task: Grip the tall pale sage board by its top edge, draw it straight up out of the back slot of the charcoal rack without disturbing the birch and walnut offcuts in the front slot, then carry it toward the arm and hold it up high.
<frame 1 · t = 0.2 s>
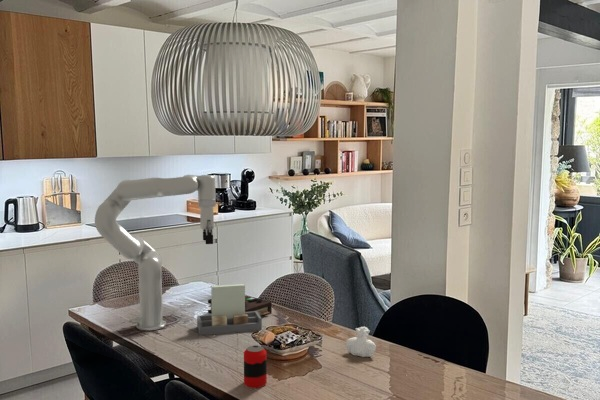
hand: (208, 242, 248), 36 cm above the table, tool pointing down, fingers open, 9 cm apart
soda can: (255, 383, 188), on the table
walnut offcut: (240, 329, 240), point 1 cm above the table, touching rack
decorative book: (239, 315, 264), on the table
rack: (228, 329, 242), on the table
birch offcut: (219, 330, 237), point 1 cm above the table, touching rack
sage board: (228, 326, 243), point 1 cm above the table, touching rack
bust: (361, 354, 215), on the table
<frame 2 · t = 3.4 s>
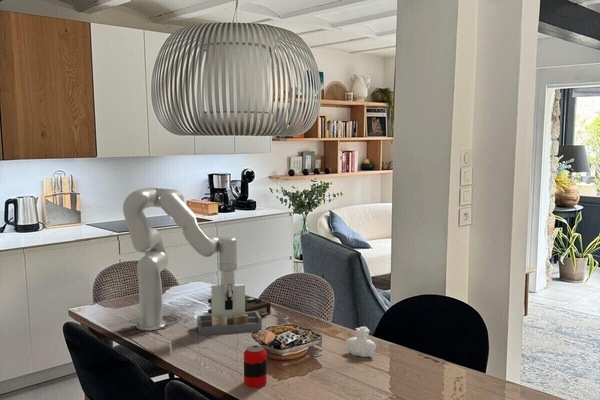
hand: (228, 308, 242), 9 cm above the table, tool pointing down, fingers closed on sage board, 2 cm apart
sage board: (228, 326, 243), point 1 cm above the table, touching gripper
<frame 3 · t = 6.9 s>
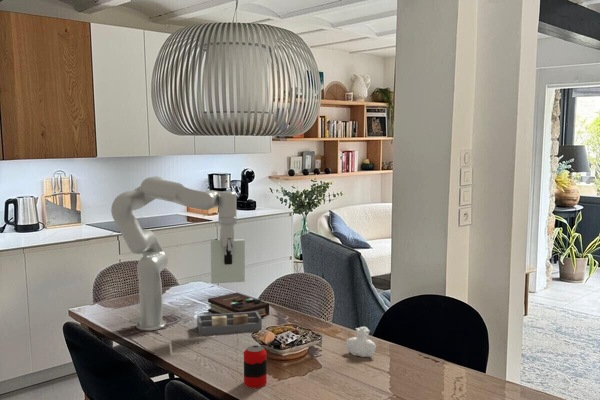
hand: (227, 263, 240), 29 cm above the table, tool pointing down, fingers closed on sage board, 2 cm apart
sage board: (227, 281, 241), point 21 cm above the table, touching gripper
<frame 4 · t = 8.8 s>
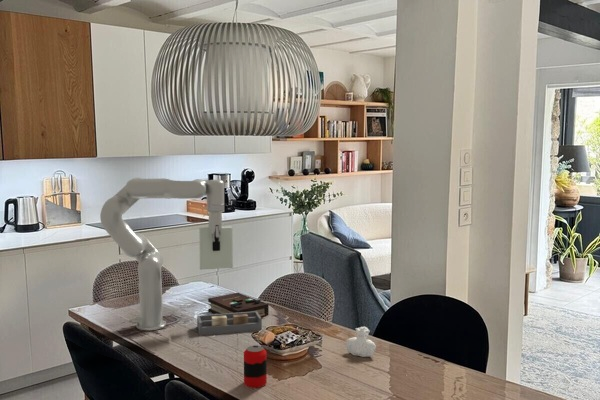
hand: (215, 249, 247), 33 cm above the table, tool pointing down, fingers closed on sage board, 2 cm apart
sage board: (216, 268, 248), point 25 cm above the table, touching gripper
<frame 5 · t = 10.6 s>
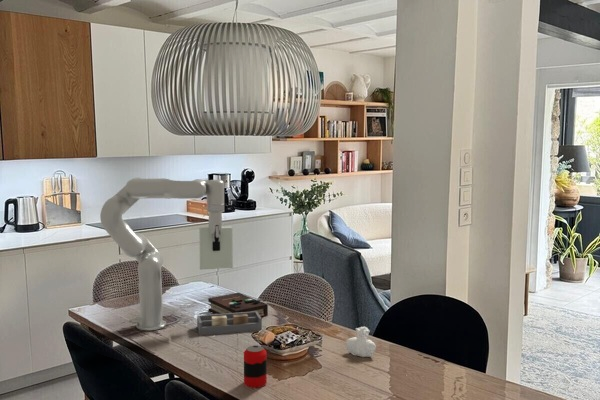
hand: (215, 249, 247), 33 cm above the table, tool pointing down, fingers closed on sage board, 2 cm apart
sage board: (216, 268, 248), point 25 cm above the table, touching gripper
at the end: sage board inside the target area (0.0 cm from its centre), point 24.9 cm above the table; birch offcut moved 0.1 cm from its start; walnut offcut moved 0.1 cm from its start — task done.
